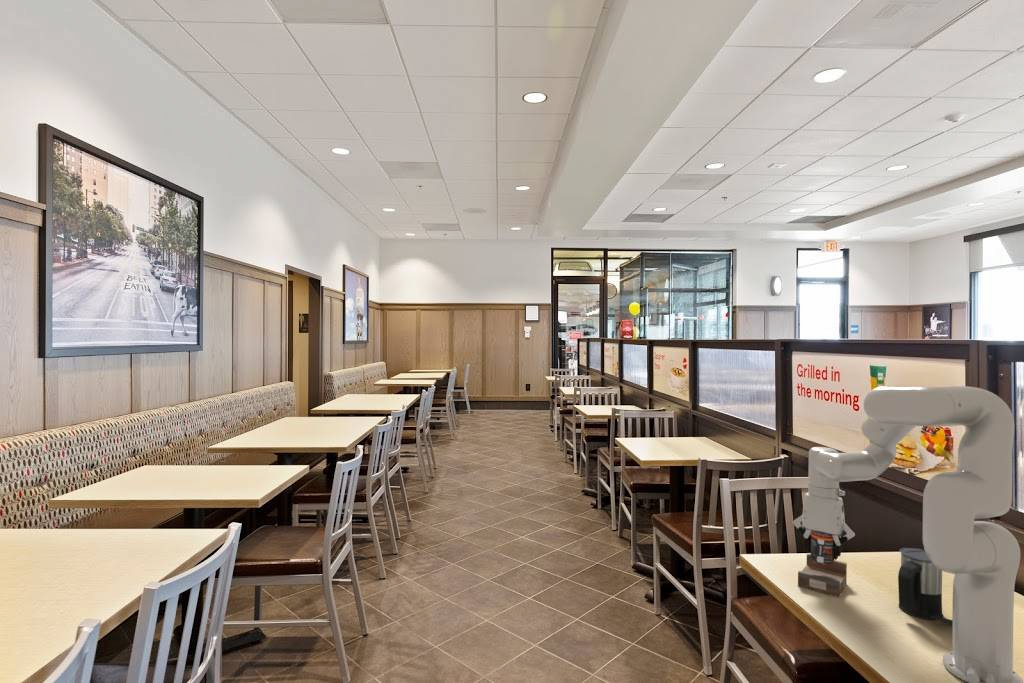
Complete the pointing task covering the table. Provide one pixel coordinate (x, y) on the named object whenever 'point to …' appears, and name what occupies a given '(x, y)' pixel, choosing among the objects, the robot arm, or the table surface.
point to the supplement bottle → (822, 548)
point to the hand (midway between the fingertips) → (822, 554)
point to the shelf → (823, 577)
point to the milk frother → (920, 585)
